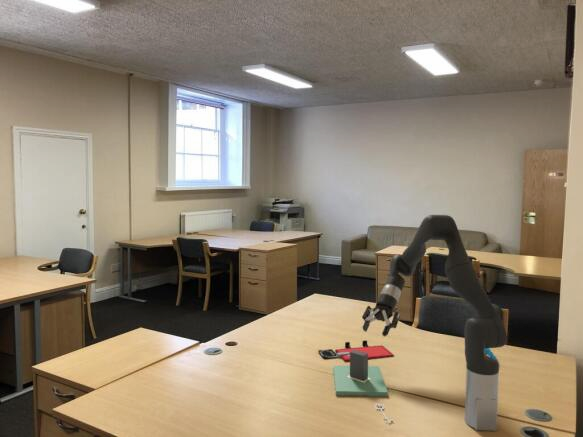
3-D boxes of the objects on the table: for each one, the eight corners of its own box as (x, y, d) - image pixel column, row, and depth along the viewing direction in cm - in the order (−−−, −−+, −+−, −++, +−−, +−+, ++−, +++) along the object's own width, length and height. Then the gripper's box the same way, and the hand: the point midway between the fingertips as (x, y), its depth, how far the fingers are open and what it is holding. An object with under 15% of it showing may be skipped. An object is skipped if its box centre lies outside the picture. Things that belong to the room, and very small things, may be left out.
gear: (499, 362, 182) (480, 342, 185) (487, 371, 184) (469, 351, 187) (498, 356, 192) (481, 337, 196) (487, 364, 194) (470, 345, 197)
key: (382, 405, 152) (373, 406, 151) (382, 402, 152) (373, 403, 151) (395, 425, 140) (384, 425, 140) (395, 422, 140) (384, 422, 140)
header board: (387, 396, 158) (387, 383, 157) (335, 395, 159) (335, 382, 158) (378, 369, 180) (378, 358, 179) (333, 368, 180) (333, 358, 180)
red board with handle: (316, 350, 200) (327, 364, 186) (316, 344, 200) (327, 358, 185) (378, 345, 208) (393, 358, 193) (378, 339, 207) (394, 351, 193)
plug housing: (354, 373, 172) (354, 349, 171) (367, 378, 168) (368, 353, 167) (349, 376, 170) (350, 351, 169) (363, 381, 166) (363, 356, 165)
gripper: (370, 290, 186) (354, 324, 178) (402, 295, 176) (387, 332, 169) (376, 300, 190) (361, 333, 183) (408, 306, 181) (393, 342, 173)
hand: (373, 333), depth 176 cm, fingers open, 8 cm apart
